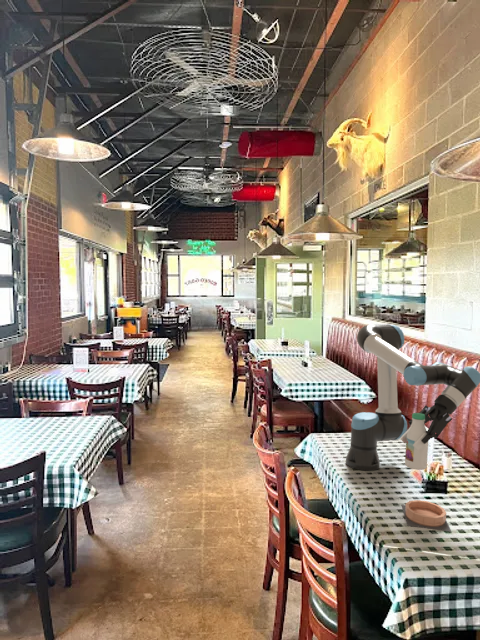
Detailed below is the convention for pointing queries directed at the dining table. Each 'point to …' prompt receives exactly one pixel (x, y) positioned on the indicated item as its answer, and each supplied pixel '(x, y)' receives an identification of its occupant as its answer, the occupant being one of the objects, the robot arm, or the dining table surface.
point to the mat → (413, 524)
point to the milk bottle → (415, 431)
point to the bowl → (425, 513)
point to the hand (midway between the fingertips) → (408, 444)
